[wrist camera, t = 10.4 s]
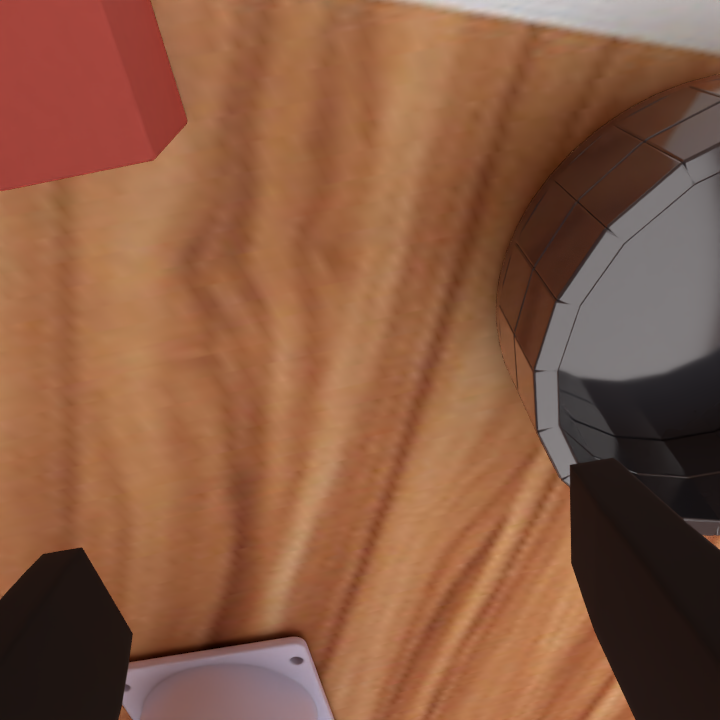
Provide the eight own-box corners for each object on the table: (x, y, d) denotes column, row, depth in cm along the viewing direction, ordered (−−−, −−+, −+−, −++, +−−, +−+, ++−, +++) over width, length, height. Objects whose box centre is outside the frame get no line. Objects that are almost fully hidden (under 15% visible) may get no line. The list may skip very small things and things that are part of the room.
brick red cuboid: (189, 123, 15) (155, 160, 12) (59, 150, 15) (-4, 193, 12) (119, -101, 13) (58, -123, 10) (-32, -67, 13) (-136, -78, 10)
